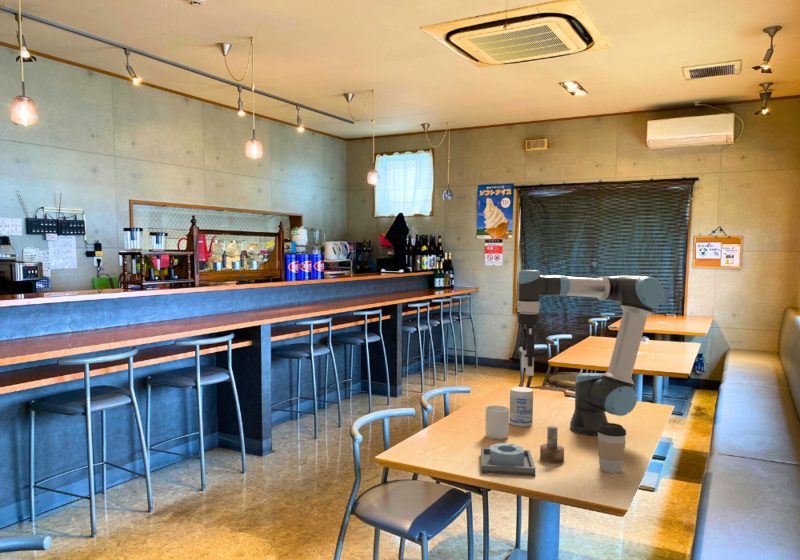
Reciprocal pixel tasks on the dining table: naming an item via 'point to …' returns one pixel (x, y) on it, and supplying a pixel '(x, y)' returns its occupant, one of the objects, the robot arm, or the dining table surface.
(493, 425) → the mug
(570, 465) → the dining table surface
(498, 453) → the ring
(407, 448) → the dining table surface
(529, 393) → the supplement tub
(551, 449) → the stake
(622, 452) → the coffee cup
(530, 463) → the tray
